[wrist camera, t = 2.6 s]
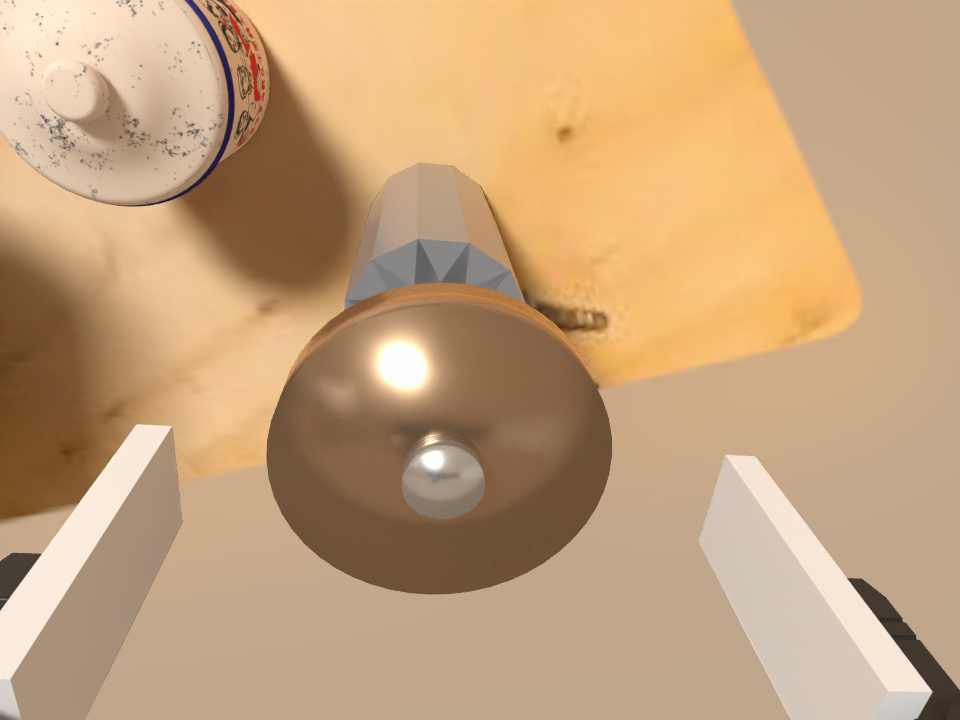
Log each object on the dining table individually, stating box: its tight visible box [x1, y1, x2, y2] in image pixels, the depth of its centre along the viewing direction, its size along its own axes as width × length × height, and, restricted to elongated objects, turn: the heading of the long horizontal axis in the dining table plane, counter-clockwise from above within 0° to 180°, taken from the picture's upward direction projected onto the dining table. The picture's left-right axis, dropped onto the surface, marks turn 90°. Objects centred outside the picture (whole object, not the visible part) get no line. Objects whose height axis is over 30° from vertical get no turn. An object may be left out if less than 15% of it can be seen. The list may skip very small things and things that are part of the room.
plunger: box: [267, 283, 612, 594], centre depth 23 cm, size 9×9×14 cm
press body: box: [345, 163, 526, 310], centre depth 32 cm, size 7×9×14 cm
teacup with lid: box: [0, 0, 270, 206], centre depth 27 cm, size 12×9×12 cm
